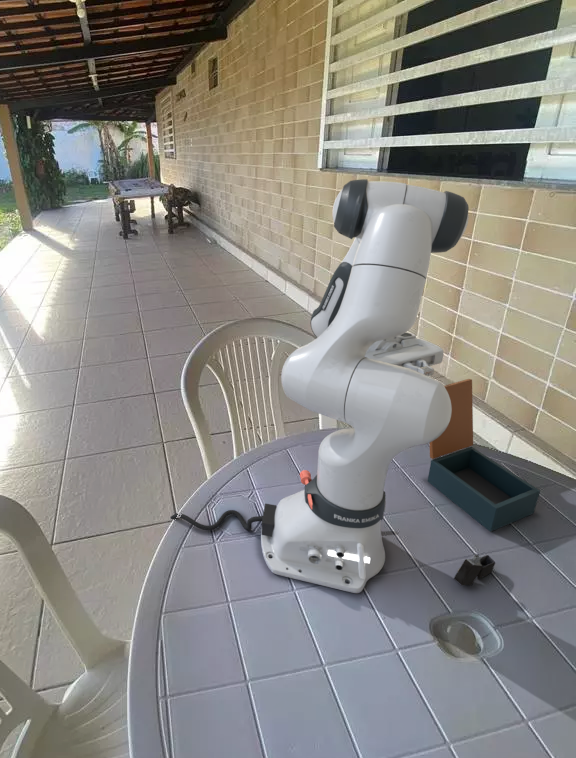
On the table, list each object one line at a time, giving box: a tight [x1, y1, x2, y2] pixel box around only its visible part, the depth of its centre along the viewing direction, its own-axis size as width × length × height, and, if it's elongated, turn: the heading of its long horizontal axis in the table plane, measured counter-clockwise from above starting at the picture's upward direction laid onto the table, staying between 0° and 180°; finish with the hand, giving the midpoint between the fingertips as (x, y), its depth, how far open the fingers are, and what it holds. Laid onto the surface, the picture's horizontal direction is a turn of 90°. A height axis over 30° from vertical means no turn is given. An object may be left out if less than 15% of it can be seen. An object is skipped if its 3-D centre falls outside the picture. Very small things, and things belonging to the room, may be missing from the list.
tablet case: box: [427, 446, 541, 532], centre depth 87 cm, size 15×12×6 cm
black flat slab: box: [455, 468, 511, 504], centre depth 88 cm, size 11×8×1 cm
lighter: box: [453, 553, 496, 586], centre depth 72 cm, size 8×2×5 cm
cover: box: [428, 378, 474, 460], centre depth 91 cm, size 15×12×1 cm
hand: (428, 373), depth 95 cm, fingers closed
